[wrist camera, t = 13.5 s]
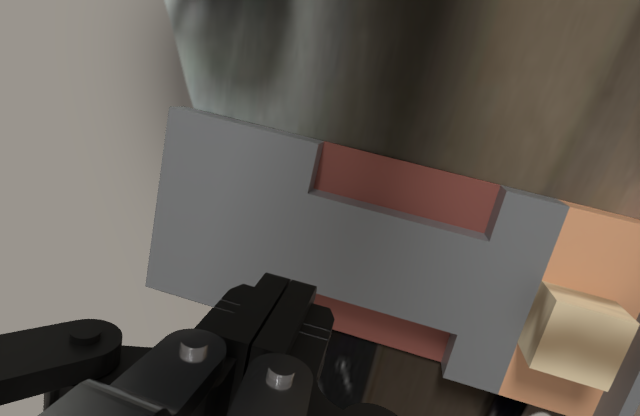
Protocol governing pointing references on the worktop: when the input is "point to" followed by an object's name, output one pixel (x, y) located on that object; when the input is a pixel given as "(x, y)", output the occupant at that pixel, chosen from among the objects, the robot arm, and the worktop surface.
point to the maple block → (576, 335)
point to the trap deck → (390, 250)
